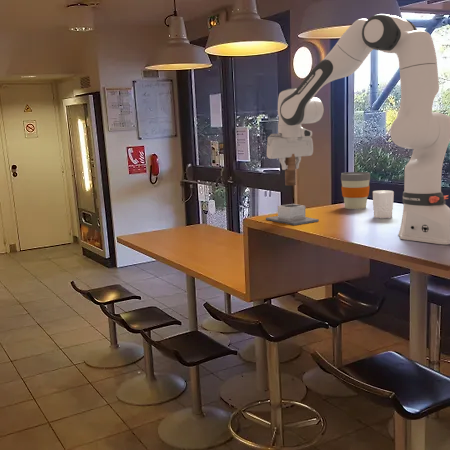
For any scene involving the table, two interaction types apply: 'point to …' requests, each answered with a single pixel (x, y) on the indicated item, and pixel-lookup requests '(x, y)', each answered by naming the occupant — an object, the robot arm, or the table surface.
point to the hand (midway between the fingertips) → (290, 169)
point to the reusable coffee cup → (355, 189)
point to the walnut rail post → (290, 171)
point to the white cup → (383, 203)
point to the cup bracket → (292, 215)
